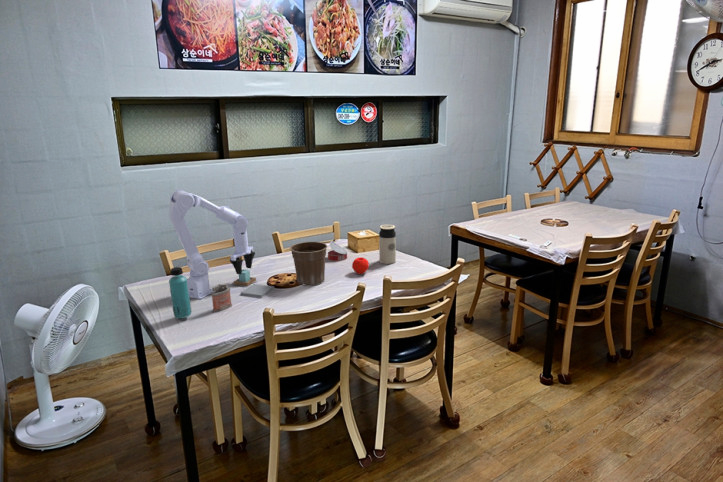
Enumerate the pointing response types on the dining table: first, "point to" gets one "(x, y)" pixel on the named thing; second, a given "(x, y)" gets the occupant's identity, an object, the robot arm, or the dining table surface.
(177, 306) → the beverage bottle
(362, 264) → the apple
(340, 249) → the canned food
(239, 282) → the collar
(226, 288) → the crushed red tin
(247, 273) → the peg
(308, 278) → the plant pot
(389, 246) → the travel mug
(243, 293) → the mat
